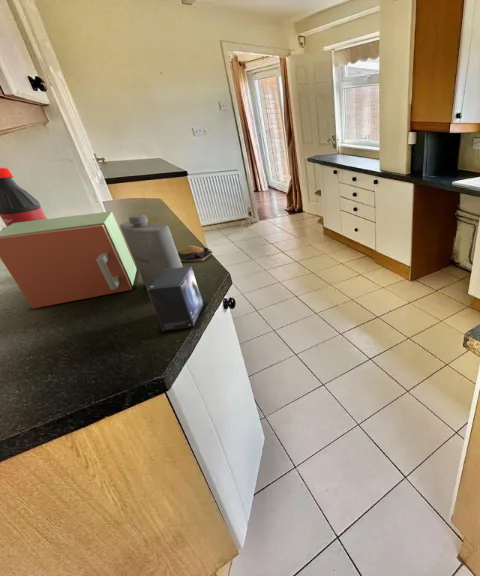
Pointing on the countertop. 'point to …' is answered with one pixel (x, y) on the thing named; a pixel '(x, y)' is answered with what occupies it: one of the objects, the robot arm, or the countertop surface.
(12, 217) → the cola bottle
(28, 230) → the cupboard
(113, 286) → the door
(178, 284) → the small box
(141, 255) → the flask
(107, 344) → the countertop surface
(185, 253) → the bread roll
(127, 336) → the countertop surface
